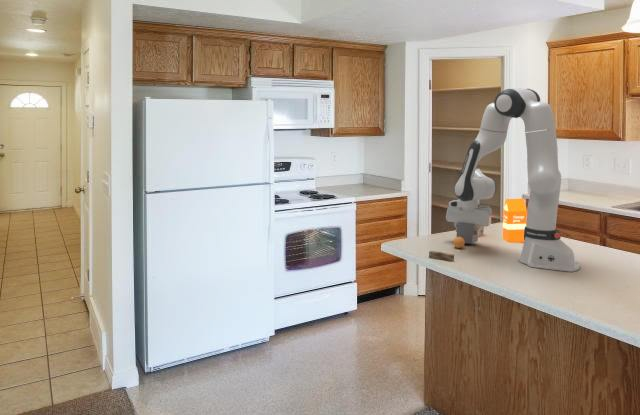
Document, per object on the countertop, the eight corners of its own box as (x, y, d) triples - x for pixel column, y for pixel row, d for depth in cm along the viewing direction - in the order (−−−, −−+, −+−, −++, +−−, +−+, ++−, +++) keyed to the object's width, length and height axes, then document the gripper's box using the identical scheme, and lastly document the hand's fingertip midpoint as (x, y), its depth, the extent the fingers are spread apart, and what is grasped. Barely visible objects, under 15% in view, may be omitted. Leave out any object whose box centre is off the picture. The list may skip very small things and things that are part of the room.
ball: (466, 247, 235) (466, 236, 234) (462, 249, 231) (462, 238, 230) (455, 246, 238) (455, 235, 237) (451, 248, 234) (451, 237, 233)
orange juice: (526, 241, 247) (527, 199, 245) (507, 242, 247) (508, 199, 245) (520, 238, 255) (521, 197, 252) (502, 239, 255) (502, 198, 253)
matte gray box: (477, 241, 243) (478, 222, 241) (472, 244, 237) (473, 224, 235) (462, 238, 247) (463, 220, 246) (456, 241, 241) (457, 222, 240)
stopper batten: (454, 260, 214) (454, 254, 213) (452, 261, 212) (452, 255, 212) (430, 256, 219) (431, 250, 219) (428, 257, 218) (429, 251, 217)
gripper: (494, 205, 236) (492, 235, 238) (450, 200, 247) (449, 229, 250) (489, 206, 231) (487, 237, 233) (445, 202, 242) (443, 231, 245)
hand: (467, 233), depth 241 cm, fingers closed on matte gray box, 7 cm apart
